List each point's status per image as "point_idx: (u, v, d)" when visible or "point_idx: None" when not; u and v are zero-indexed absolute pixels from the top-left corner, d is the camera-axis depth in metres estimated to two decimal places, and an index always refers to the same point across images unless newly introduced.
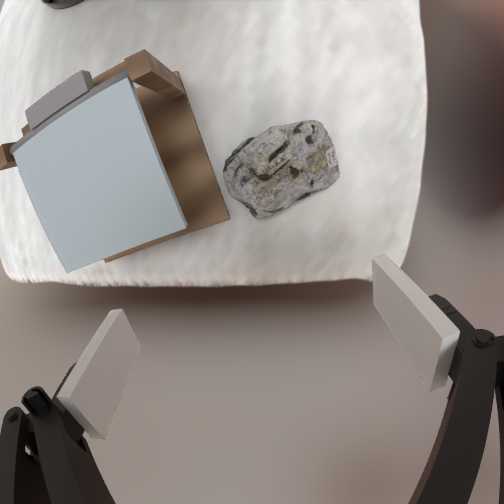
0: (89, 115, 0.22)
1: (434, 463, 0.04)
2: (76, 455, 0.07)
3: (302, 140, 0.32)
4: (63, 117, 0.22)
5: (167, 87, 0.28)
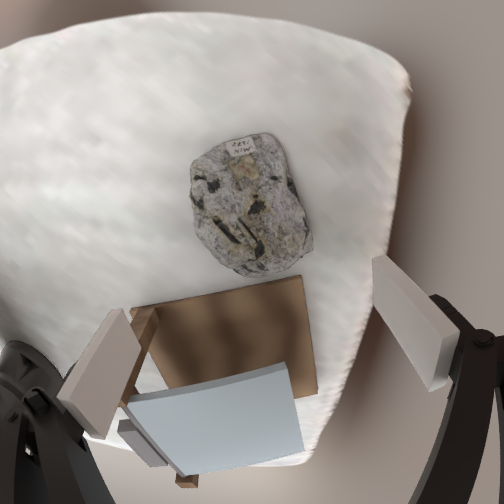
0: (160, 430, 0.25)
1: (434, 463, 0.04)
2: (76, 455, 0.07)
3: (213, 197, 0.25)
4: (160, 445, 0.26)
5: (141, 345, 0.29)
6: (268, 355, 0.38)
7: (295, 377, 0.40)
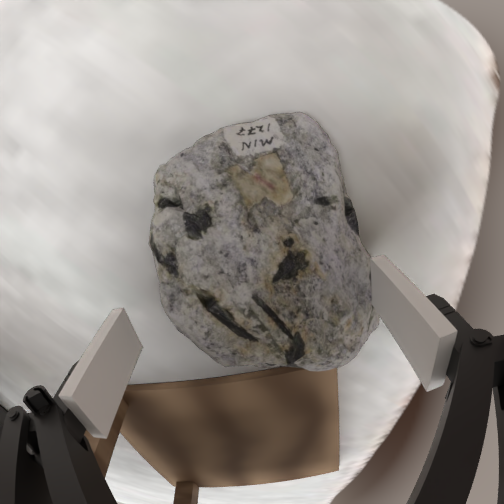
0: None
1: (432, 463, 0.04)
2: (78, 454, 0.07)
3: (196, 249, 0.12)
4: None
5: (99, 456, 0.16)
6: (280, 444, 0.25)
7: (313, 460, 0.26)
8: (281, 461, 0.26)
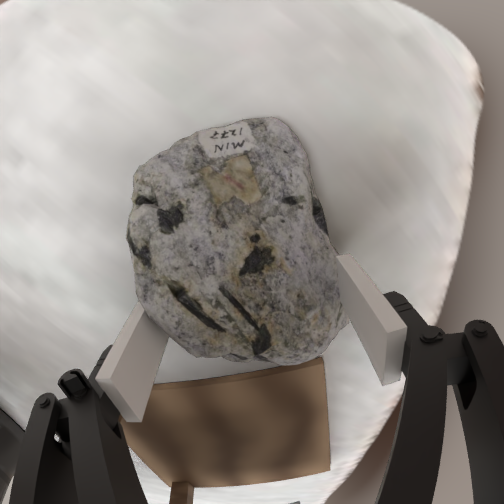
0: None
1: (391, 461, 0.05)
2: (110, 443, 0.07)
3: (168, 243, 0.12)
4: None
5: None
6: (272, 444, 0.26)
7: (304, 460, 0.27)
8: (273, 461, 0.27)
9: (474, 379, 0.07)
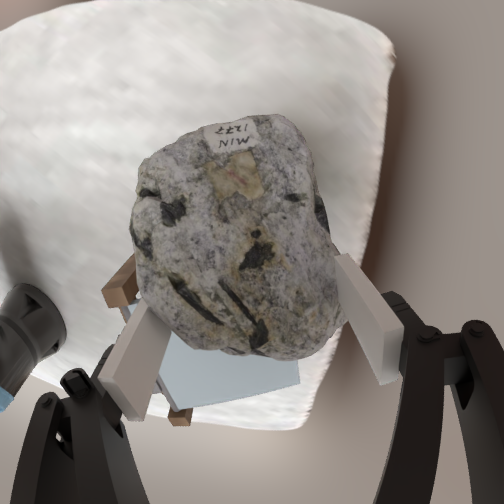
0: None
1: (388, 461, 0.05)
2: (112, 442, 0.07)
3: (170, 235, 0.12)
4: None
5: None
6: None
7: None
8: None
9: (471, 379, 0.07)
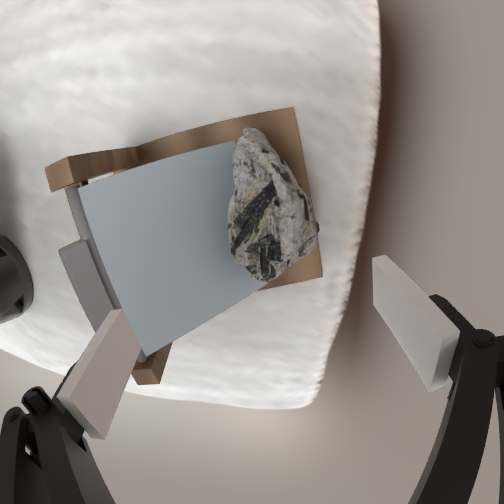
0: (114, 238, 0.22)
1: (434, 463, 0.04)
2: (76, 455, 0.07)
3: (289, 171, 0.23)
4: (112, 277, 0.22)
5: (112, 156, 0.25)
6: None
7: None
8: None
9: None
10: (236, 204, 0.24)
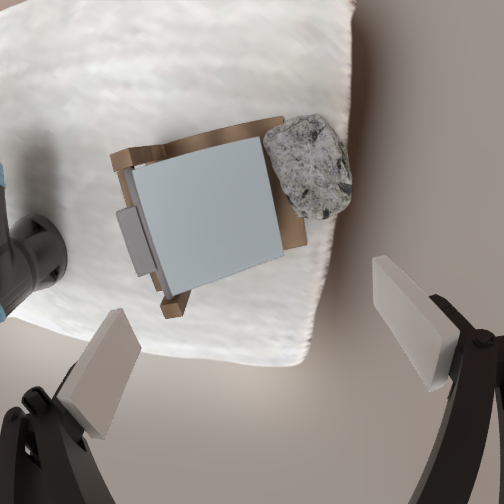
0: (156, 206, 0.32)
1: (434, 463, 0.04)
2: (76, 455, 0.07)
3: None
4: (152, 233, 0.33)
5: (151, 150, 0.36)
6: None
7: (283, 220, 0.47)
8: None
9: None
10: (336, 145, 0.37)
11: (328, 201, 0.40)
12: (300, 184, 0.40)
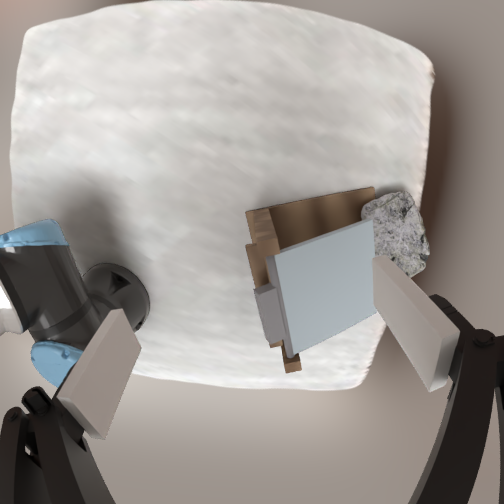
0: (292, 285, 0.38)
1: (434, 463, 0.04)
2: (76, 455, 0.07)
3: None
4: (286, 308, 0.38)
5: None
6: None
7: None
8: None
9: None
10: (420, 221, 0.43)
11: (409, 267, 0.45)
12: (389, 252, 0.45)
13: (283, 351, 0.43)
